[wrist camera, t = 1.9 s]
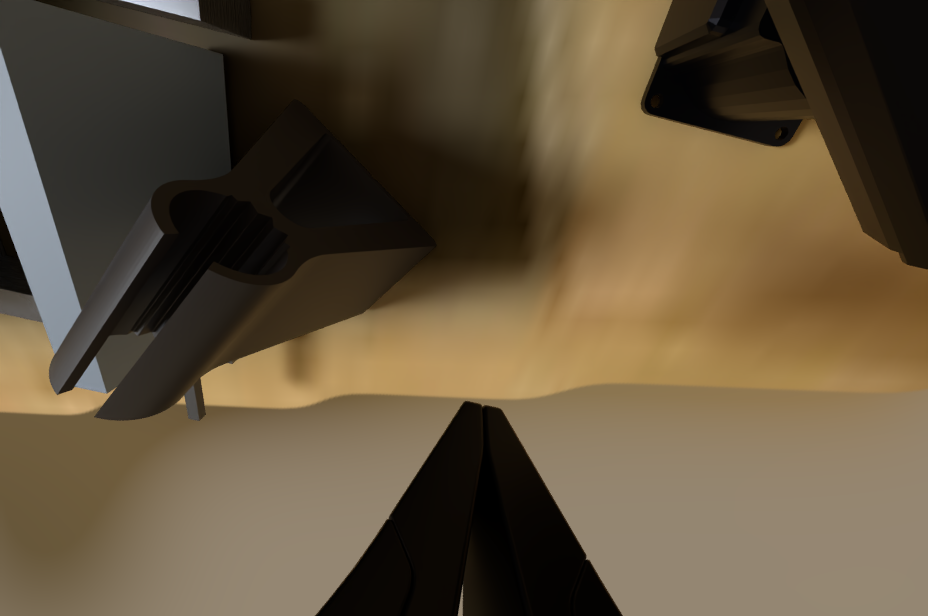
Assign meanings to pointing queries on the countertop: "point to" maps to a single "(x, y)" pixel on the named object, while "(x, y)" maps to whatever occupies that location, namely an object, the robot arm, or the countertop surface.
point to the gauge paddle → (97, 154)
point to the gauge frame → (197, 3)
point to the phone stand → (243, 265)
